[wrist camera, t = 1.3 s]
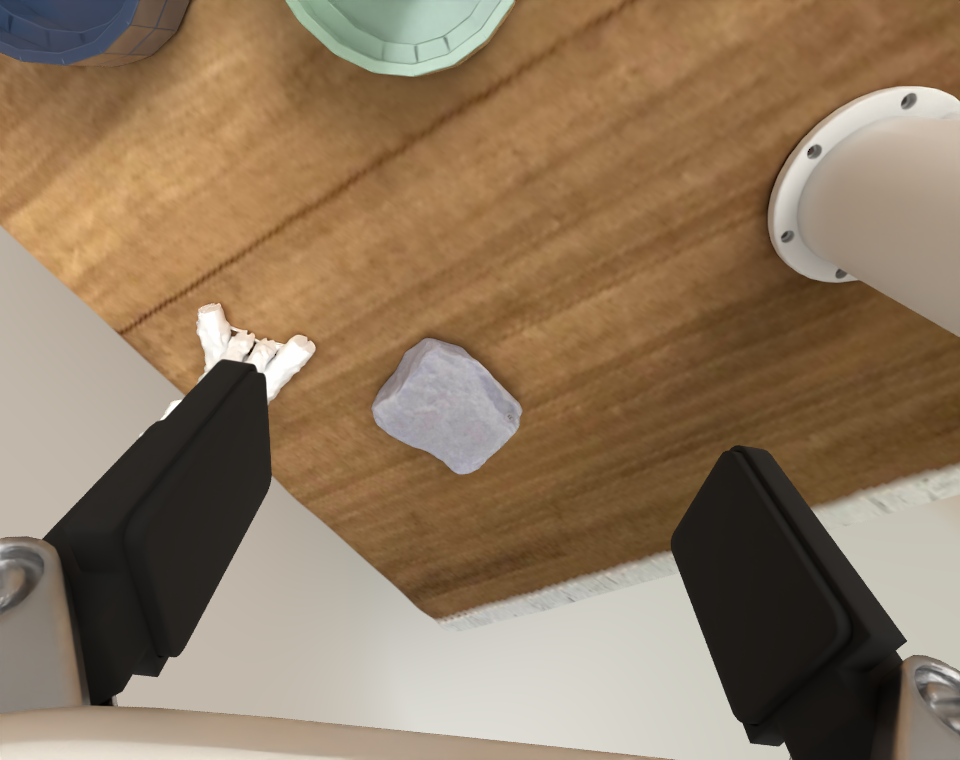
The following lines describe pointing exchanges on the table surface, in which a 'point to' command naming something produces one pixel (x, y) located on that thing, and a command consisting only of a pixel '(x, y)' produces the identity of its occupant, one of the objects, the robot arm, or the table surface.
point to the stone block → (447, 406)
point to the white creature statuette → (236, 348)
